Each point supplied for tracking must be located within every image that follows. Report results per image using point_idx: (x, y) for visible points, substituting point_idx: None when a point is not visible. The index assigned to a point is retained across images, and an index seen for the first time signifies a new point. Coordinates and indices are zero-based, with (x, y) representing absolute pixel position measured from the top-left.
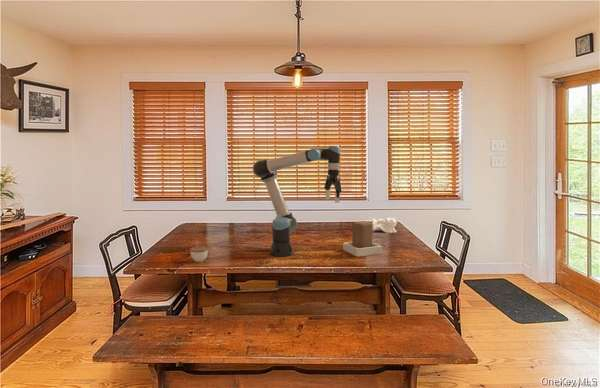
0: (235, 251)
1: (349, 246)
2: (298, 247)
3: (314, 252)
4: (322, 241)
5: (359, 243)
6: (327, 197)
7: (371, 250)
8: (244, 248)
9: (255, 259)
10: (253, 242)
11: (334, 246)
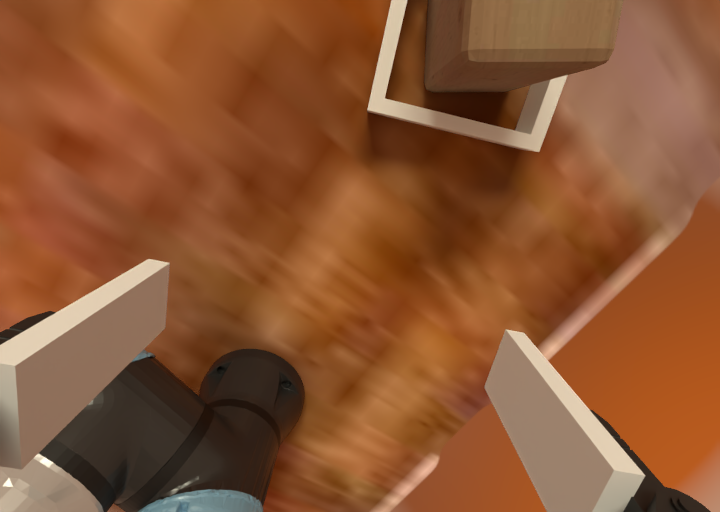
0: None
1: (446, 129)
2: (194, 277)
3: (320, 271)
4: (128, 77)
5: (509, 86)
6: (146, 324)
7: None
8: None
9: (278, 493)
10: None
11: (275, 100)
